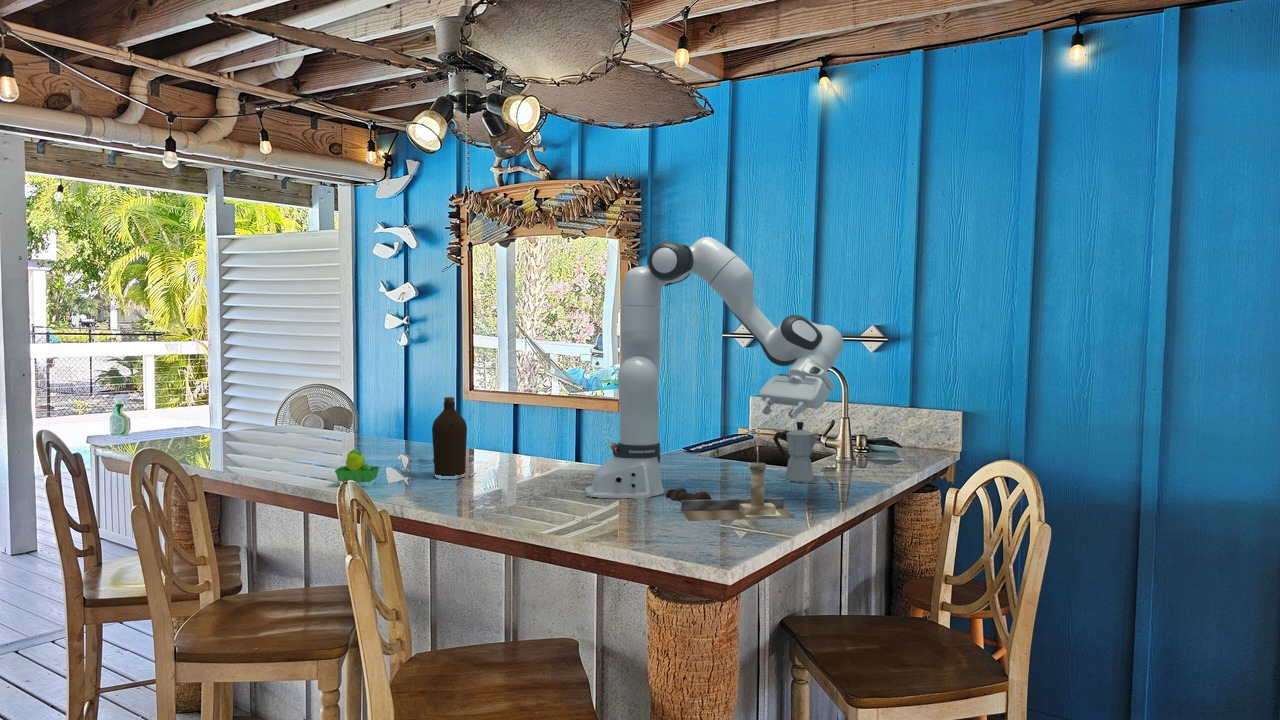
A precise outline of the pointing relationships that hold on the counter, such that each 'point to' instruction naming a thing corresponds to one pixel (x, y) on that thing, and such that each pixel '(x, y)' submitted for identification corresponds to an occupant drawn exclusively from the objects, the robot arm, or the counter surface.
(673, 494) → the bolt
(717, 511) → the board
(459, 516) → the counter surface
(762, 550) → the counter surface
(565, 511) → the counter surface
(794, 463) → the coffee maker
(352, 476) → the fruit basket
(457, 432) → the olive oil
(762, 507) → the stamp
